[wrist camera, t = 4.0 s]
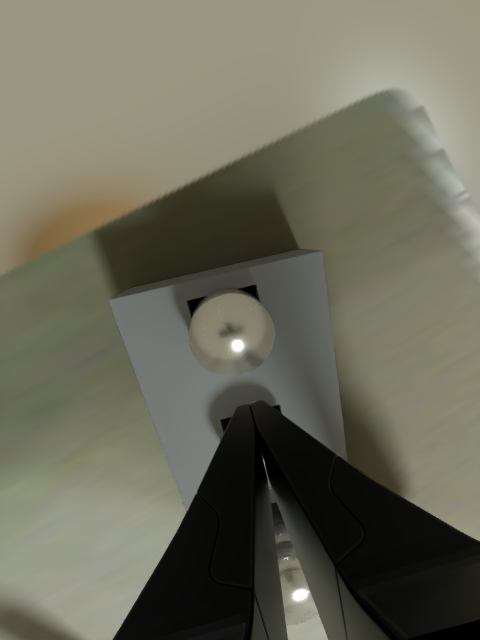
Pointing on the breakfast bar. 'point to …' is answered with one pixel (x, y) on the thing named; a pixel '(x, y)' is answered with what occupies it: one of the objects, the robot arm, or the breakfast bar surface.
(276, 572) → the robot arm
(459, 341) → the breakfast bar surface
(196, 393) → the mount
